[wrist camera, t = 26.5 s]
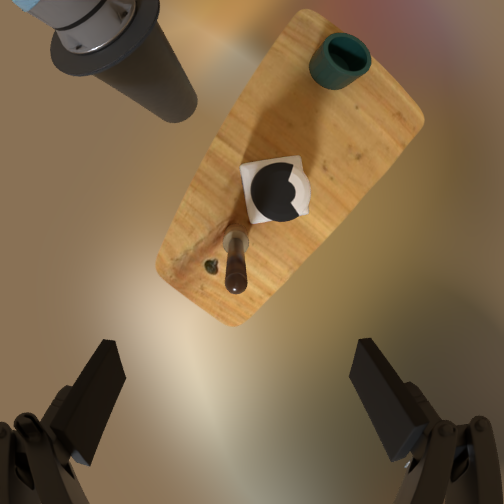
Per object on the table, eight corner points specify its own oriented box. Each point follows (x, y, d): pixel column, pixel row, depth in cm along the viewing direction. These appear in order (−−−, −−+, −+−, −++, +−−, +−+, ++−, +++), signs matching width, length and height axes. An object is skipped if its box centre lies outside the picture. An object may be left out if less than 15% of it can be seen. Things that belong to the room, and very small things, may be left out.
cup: (300, 59, 35) (313, 39, 28) (336, 47, 35) (353, 28, 27) (323, 95, 37) (341, 81, 30) (358, 82, 37) (380, 68, 29)
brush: (219, 231, 43) (207, 280, 23) (240, 219, 42) (244, 260, 23) (231, 250, 44) (229, 312, 24) (251, 239, 43) (264, 294, 24)
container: (247, 215, 42) (253, 234, 30) (238, 165, 40) (240, 162, 28) (297, 206, 42) (322, 222, 30) (289, 157, 40) (312, 152, 28)
